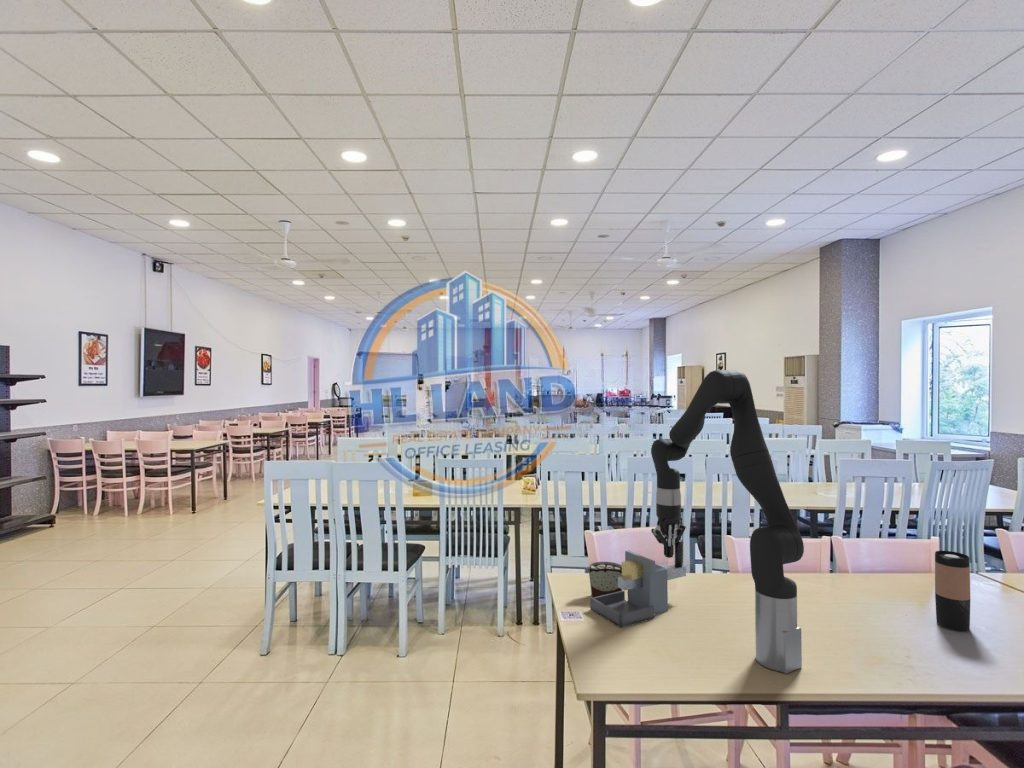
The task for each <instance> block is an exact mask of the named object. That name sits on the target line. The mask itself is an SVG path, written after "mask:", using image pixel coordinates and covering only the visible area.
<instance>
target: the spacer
mask: <svg viewBox="0 0 1024 768" xmlns="http://www.w3.org/2000/svg"><path fill="white" fill-rule="evenodd" d="M621 565H622V575H623V576H625V577H627V578H629V579H631V580H634V579H638V578H642V577H643V564H642V563H640V562H638V561H635V560H629V561H625V560H624V561H622V562H621Z"/></svg>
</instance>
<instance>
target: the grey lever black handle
mask: <svg viewBox="0 0 1024 768" xmlns="http://www.w3.org/2000/svg"><path fill="white" fill-rule="evenodd" d="M662 567H663V568H666V569H667V581H671V580H674V579H679V578H683V577H687V570H686V569H687V566H686V565H684V541H683V540H682V539H680V540H679V542H678V543H677V542H676V543H675V545H674V564H671V565H667V566H666V565H665V566H662ZM641 586H642V578H638V579H634V580H631V579H629V578H627V577H625V576H621V577H618V587H619V588H621V589H622V591H625V592H626V591H628V590H629V589H633V588H637V587H641Z"/></svg>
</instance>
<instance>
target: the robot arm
mask: <svg viewBox="0 0 1024 768" xmlns="http://www.w3.org/2000/svg"><path fill="white" fill-rule="evenodd" d="M698 386H699V387H698V389H697V390H696V392H695V394H694V396H693V397H692V399H691V401H690V403H689V405H688V407H687V408H686V410H685V411H684V412H683V414H682V415H681V417H680V418H679V419H678V420H677V421H676V422H675V424H673V426H672V427H671V429H670V430H669V434H668V435H669V438H660V439H656V440H654V441H653V442H652V445H651V447H650V453H651V454H650V455H651V457H652V462H653V464H654V470H655V472H656V494H655V501H656V502H655V503H656V504H655V507H656V509H655V512H656V513H655V515H656V517H657V522H656V527H655V528H651V533H652V535H653V536H654V538H655V539H656V541H657V542H658V543H659V544H661V545H663V556H664V557H665V558H668V559H670V558H674V555H675V548H674V545H675V543H676V542H677V543H678V542H679V540H681V539H682V536H683V535H684V532H685V530H686V529H687V528H686V526H685V525H683V524H682V523H681V520H680V518H681V517H682V494H681V474H680V470H678V469H676V468H673V467H670V465H669V462H674V461H675V462H676V461H679V460H682V459H684V457H685V456H686V455H687V453H688V451H689V448H690V446H691V443H692V442H693V441H694V440H695V439H696V438H697V437H698V436H699V434H700V433H701V432H702V431H703V428H704V425H705V418H706V414H707V413H708V411H710V410H711V409H712V408H714V406H716V405H717V404H721V405H722V404H723V405H724V404H729V407H730V409H731V412H732V416H733V421H734V423H733V424H734V427H733V433H732V436H731V442H730V451H729V453H730V458H731V461H732V465H733V468H734V471H735V472H734V473H735V474H736V477H737V479H738V481H739V482H740V484H742V486H743V487H744V488H745V489H746V490H747V492H748V493H749V494H750V495H751V496H752V497H753V499H754V500H755V501H756V502H757V503H758V505H759V506H760V508H761V510H762V512H763V515H764V517H765V521H766V524H767V526H761V527H758V528H755V529H754V530H753V532H752V533H751V535H750V539H749V540H750V541H749V555H750V568H751V569H750V570H751V576H752V579H753V581H754V598H755V599H754V602H755V603H754V604H755V605H754V607H755V608H754V609H755V611H754V612H755V616H754V617H755V618H754V620H755V621H754V622H755V623H754V624H755V629H754V630H755V659H756V662H758V664H760V665H761V666H763V667H765V668H767V669H769V670H773V671H776V672H781V673H782V674H788V673H792V672H793V671H796V670H799V669H802V667H803V665H802V664H803V663H802V662H803V661H802V659H803V657H802V654H803V652H802V650H803V649H802V628H801V627H800V626H798V587H797V583H796V582H795V581H794V580H793V579H791V578H789V577H787V576H785V574H784V573H785V571H784V565H786V564H793V563H797V562H798V561H800V560H801V559H802V558H803V556H804V552H805V545H804V540H803V538H802V535H801V533H800V530H799V527H798V526H797V524H796V521H795V518H794V516H793V515H792V512H791V510H790V508H789V505H788V503H787V501H786V498H785V495H784V493H783V490H782V487H781V485H780V482H779V479H778V476H777V473H776V469H775V467H774V463H773V461H772V457H771V454H770V452H769V448H768V446H767V443H766V440H765V437H764V435H763V431H762V426H761V424H760V422H759V417H758V414H757V410H756V405H755V401H754V395H753V393H752V392H753V391H752V386H751V383H750V381H749V378H748V377H747V375H746V374H745V373H744V372H742V371H741V370H737V369H720V370H719V369H715V370H712V371H710V372H709V373H708V374H706V376H705V377H704V378H703V380H702V381H701V382H700V385H698Z"/></svg>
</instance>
